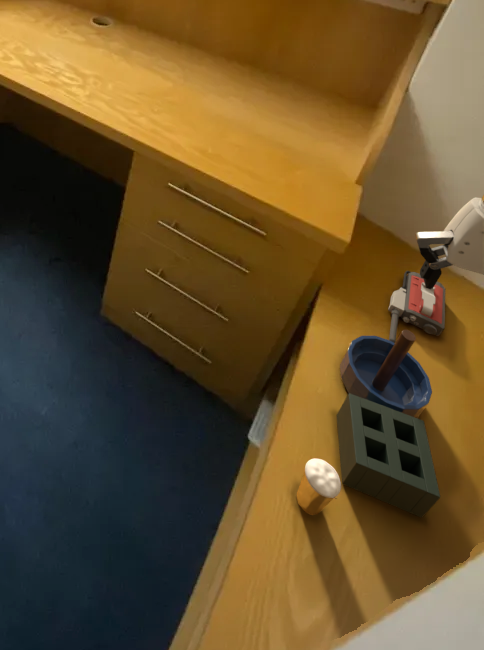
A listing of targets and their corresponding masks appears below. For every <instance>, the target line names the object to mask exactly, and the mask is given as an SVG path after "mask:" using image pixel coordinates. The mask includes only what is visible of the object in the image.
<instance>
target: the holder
mask: <svg viewBox="0 0 484 650" xmlns="http://www.w3.org/2000/svg"><path fill="white" fill-rule="evenodd" d="M336 425H337V427H336V428H337V436H338V437H337V439H338V449H339V461H340V463H339V464H340V473H341V485H344V486H347V487H348V488H351V489H353V490H355V491H358V492H360V493H362V494H365V495H368V496H370V497H371V498H374V499H377V500H379V501H381V502H384V503H386V504H389V505H391V506H394V507H395V508H398V509H400V510H402V511H405V512H407V513H409V514H412V515H414V516H416V517H419V518H423V517H424V516H425V515H426V514H427V513H428V512H429V511H430V510H431V508H433V506H434V505H435V504H436V503H437V502H438V501H439V499H440V498H441V493H440V489H439V483H438V479H437V475H436V470H435V466H434V462H433V456H432V452H431V447H430V443H429V442H430V441H429V438H428V434H427V428H426V424H425V420H423V419H420V418H419V417H418V418H415V417H412V416H409V415H407V414H404V413H401V412H399V411H396V410H393V409H391V408H388V407H385V406H383V405H380V404H377V403H375V402H372V401H369V400H366V399H364V398H361V397H358V396H355V395H353V394H350V393H348V394H347V396H346V398H345V399H344V401H343V403H342V404H341V406H340V408H339V409H338V412H337V413H336Z"/></svg>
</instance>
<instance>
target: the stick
mask: <svg viewBox="0 0 484 650" xmlns="http://www.w3.org/2000/svg"><path fill="white" fill-rule="evenodd" d="M416 340H417V337H416V335H415V334H414V332H412V331H411V330H409V329H403V330H402V331H400V333H399V335H398V337H397V338H396V342H395V344H394V346H393V347H392V349H391V351H390V352H389V354H388V356H387V357H386V359H385V361H384V362H383V364H382V366H381V367H380V369H379V371H378V372H377V374H376V376H375V377H374V379H373V381H372V384H373V386H374V387H375V388H376V389H377V390H379V391H383V390H384V389H385V387H386V386H387V384H388V383H389V381H390V380H391V378H392V376H393V375H394V373H395V372H396V370H397V368H398V367H399V365H400V364H401V362H402V361H403V359H404V357H405V356H406V354H407V353H409V351H410V349H411V348H412V346H413V345H414V343H415V342H416Z"/></svg>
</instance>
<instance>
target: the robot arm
mask: <svg viewBox="0 0 484 650" xmlns="http://www.w3.org/2000/svg"><path fill="white" fill-rule="evenodd" d="M414 235H415V239H416V242H417V246H418V250H419V253H420V255H421V256H422V258H424V262H423V263H422V266H421V267H420V269H419V274H420V276H421V278H423V279H424V283H425V286H426V288H428V289H433V287H434V286H435V284H436V282H439V279H440V277H441V275H442V274H443V272H442V269H445V268H448V267H451V266H455V267H457V268H460V269H462V270H463V269H464V270H466V271H468V272H472V273H473V272H474V273H476V274H480V275H484V194H483V195H482V196H481V197H472V198H471V199H470V200H469V201H468V202H466V204H464V205H463V206H462V207H461V208H460V209H459V210H458V211H457V213H456V214H455V215H454V216H453V217H452V219H451V220H450V221H449V222H448V224H447V225H446V227H445V228H444V229H443V230H442V231H440V230H439V231H417V232H415V233H414ZM431 245H439V246H435V247H431ZM444 255H445V256H444ZM440 256H444V257H441V258H439V257H440Z"/></svg>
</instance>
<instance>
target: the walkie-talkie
mask: <svg viewBox="0 0 484 650" xmlns="http://www.w3.org/2000/svg"><path fill="white" fill-rule="evenodd" d="M387 310H388V312H390V313H391V321H390V329H389V336H388V337H389V338H388V340H390V341H392V342H393V343H395V342H396V341H397V334H398V333H397V332H398V323H399V318H401V320H403V322H404V323H409V324H411V325H413V326H415V327H418V328H420V329H422V330H423V331H424V332H425V333H427V334H428V335H435V336H437V337H440V335H441V334H442V333H443V332H444V330H445V328H446V327H445V326H446V325H445V324H446V287H445V286H444V285H443V284H442V283H441V282H439V281H437V282H436V284H435V286H434V287H433V289H428V288H426V286H425V283H424V279H423V278H421V276H420V272H419V273H418V272H415V271H410V270H406V271H405V272H404V273H403V281H402V286H401V287H399V289H397V290H394V291H393V292H392V294H391V296H390V301H389V306H388V309H387Z"/></svg>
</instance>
